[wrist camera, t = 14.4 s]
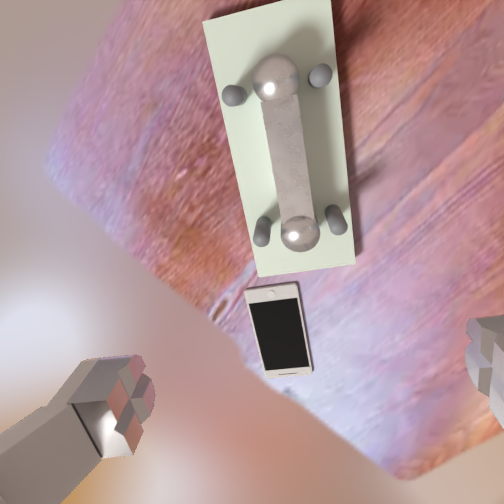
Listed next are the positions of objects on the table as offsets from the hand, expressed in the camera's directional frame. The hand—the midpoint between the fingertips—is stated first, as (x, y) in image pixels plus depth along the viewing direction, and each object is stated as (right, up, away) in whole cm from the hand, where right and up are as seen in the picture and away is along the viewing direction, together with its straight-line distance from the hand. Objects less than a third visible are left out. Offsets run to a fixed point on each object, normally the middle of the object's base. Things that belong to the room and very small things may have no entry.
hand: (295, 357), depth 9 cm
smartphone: (+3, -9, +41) cm, 42 cm away
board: (+3, +14, +30) cm, 33 cm away
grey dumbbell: (+3, +13, +29) cm, 32 cm away
